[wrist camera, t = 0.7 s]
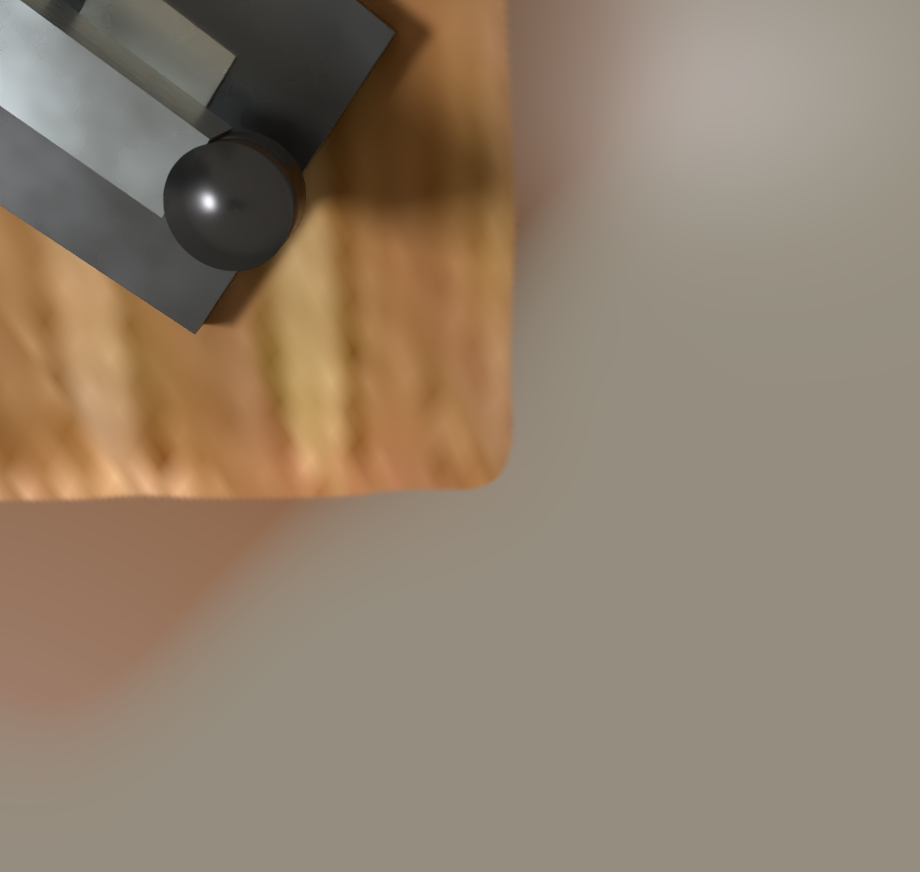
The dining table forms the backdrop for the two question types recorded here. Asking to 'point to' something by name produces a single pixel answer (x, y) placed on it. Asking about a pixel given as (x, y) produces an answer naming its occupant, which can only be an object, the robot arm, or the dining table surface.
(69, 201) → the plate
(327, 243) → the dining table surface
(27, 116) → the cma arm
